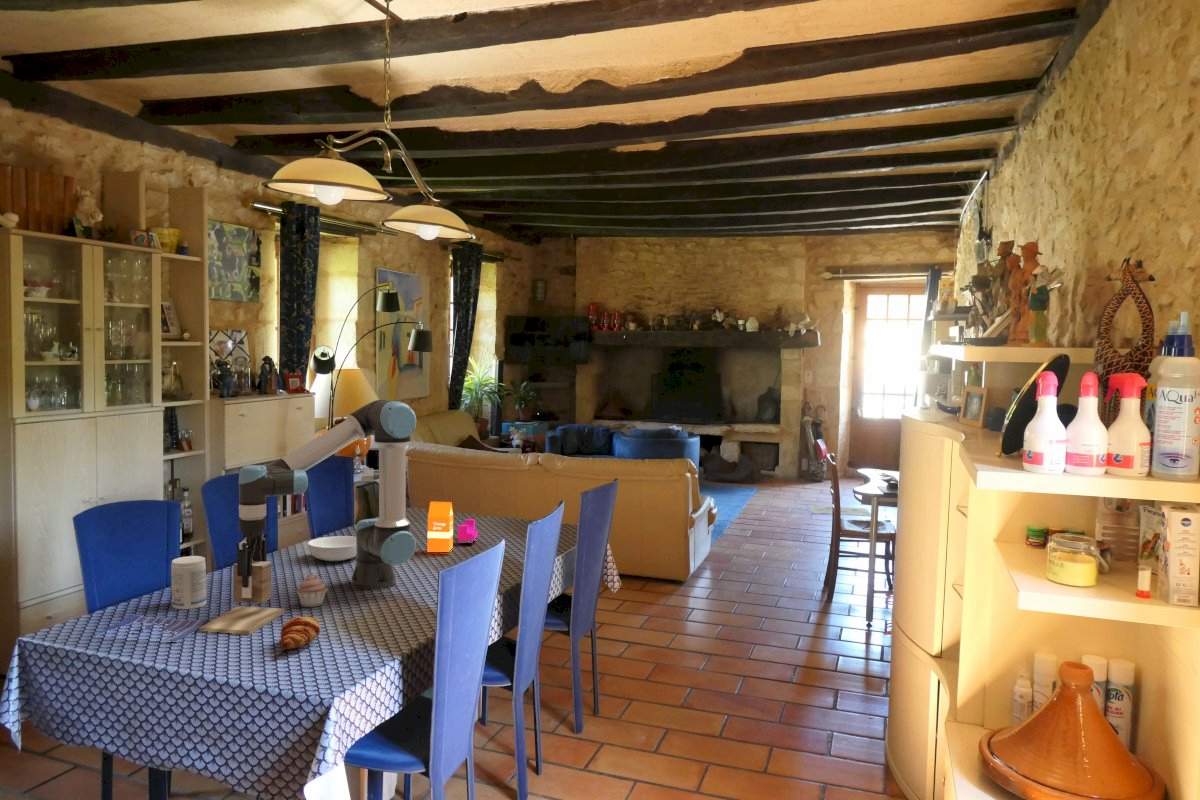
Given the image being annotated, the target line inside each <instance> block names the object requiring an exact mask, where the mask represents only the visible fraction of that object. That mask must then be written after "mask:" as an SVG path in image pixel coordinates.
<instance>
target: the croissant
mask: <svg viewBox="0 0 1200 800" xmlns="http://www.w3.org/2000/svg"><path fill="white" fill-rule="evenodd" d="M319 623H320V622H319V620H318V618H315V617H313V616H306V615H304V616H296V617H292V618H291V619H289V620H287V621H286V622H285V623H284V624H283V625H282V627H281V629H280V643H279V644H280V646H281V647H282V648H283V649H285V650H290V649H296V648H301V647H303V646H304V645H306V644H310V643H312V641H313V640H314V639H316V638H317V637H318V636H319V635H320V634H321V627H320V625H319Z"/></svg>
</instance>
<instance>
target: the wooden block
mask: <svg viewBox="0 0 1200 800" xmlns="http://www.w3.org/2000/svg"><path fill="white" fill-rule="evenodd" d="M232 569H233V571H232V573H233V577H232V579H233V584H232V585H233V589H232V590H233V591H232V593H233V594H232V599H233V601H232V602H235V603H236V602H239V603H250V604H251V603H253V604H263V603H266V602H267V601H269V600H271V598H272V597H271V596H272V595H271V593H272V586H271V585H272V561H267V562H264V561H253V560H252V566H251V574H250V576H252V598H242V576H238V575H237V562H236V563H234V564H233V568H232Z"/></svg>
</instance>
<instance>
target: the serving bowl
mask: <svg viewBox="0 0 1200 800" xmlns="http://www.w3.org/2000/svg"><path fill="white" fill-rule="evenodd" d="M307 547H308V551H309V553H310V554H311V556H312V557H314V558H315V559H318V560H322V561H326V562H341V561H346V560H348V559H352V558H354V557H357V541H356V536H352V535H336V536H324V537H317V538H314V539H311V540H309V541H308V542H307Z"/></svg>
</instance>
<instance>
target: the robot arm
mask: <svg viewBox="0 0 1200 800" xmlns="http://www.w3.org/2000/svg"><path fill="white" fill-rule="evenodd" d="M416 427H417V417H416V413H415V412H414V409H412V408H411V406H410V405H409V404H406V403H405V402H404V403H403V402H401V401H397V400H388V399H387V400H385V399H375V400H373V401H371V402H368V403H367V404H365V405H362V407H359V408H358V409H357V410H355V411H353V412H351V413H349V414H347V416H346V419H345V420H343V421H341V422H340V423H339V424H337V425H335V426H334V427H332V428H330V429H328V430H326V431H325V432H323V433H322V434H320V435H318V436H317V437H315V438H313V439H312V440H309V441H308V442H306V443H305V444H303V445H302V446H300V447H298V448H296V449H295V450H293V451H291V452H289V453H288V454H286V455H284V456H283V457H281V458H280V459H277V460H275V461H274V462H272V463H266V464H263V465H262V464H257V465H256V464H250V465H249V464H248V465H243V466H241V468H240V469H239V473H238V517H239V519H238V531H239V532H240V533H242V537H241V542H236V550H237V552H236V553H237V555H236V557H237V560H236V561H237V562H236V563H237V575H238V576H242V598H252V576H250V574H251V566H252V561H264V562H268V561H267V560H268V559H267V555H268V552H267V550H268V548H267V547H268V546H267V545H268V543H267V542H268V538H269V537H268V534H267V533H263V532H265V531H266V529H267V518H266V516H267V497H278V496H291V495H293V496H296V495H300V494H301V495H302V494H304V493H306V491H307V489H308V486H309V478H308V474H307V473H306V471H308V470H309V469H311V468H313V467H315V466H316V465H318V464H319V463H321V462H322V461H324V460H326V459H328V458H329V457H331V456H333V455H335V454H336V453H338V452H339V451H341V450H343V449H344V448H346V447H347V446H349V445H352V443H354V442H356V441H358V440H360V441H361V440H362V441H363V440H365V439H366V438H368V437H370V436H373V435H374V436H373V438H374V440H373V441H374V443H375V445H376V446H378V451H379V452H378V457H379V458H378V459H379V460H378V462H379V463H378V468H379V469H378V480H379V481H378V487H379V488H378V490H379V491H378V492H379V493H378V495H379V498H378V505H379V506H378V509H379V510H378V516H379V517H375V518H366V519H361V520H359V521H358V522H357V523H356V530H355V533H356V536H355V537H356V541H357V555H356V560H355V561H356V562H355V563H356V564H355V567H354V570H353V573H352V575H351V579H350V586H351V585H352V586H353V587H352V586H351V587H352V588H354V587H355V588H354V589H356V588H359V589H358V590H361V589H381V588H386V587H389V586H392V585H394V584H395V583H396V584H397V575H396V573H395V569H394V567H393V566H400V565H403V564H405V563H407V562H408V561H409V560H410V559H411V558H412V557H413V556H414V554H415V552H416V548H417V540H416V538H415V536H414V534H412V533H411V521H410V520H409V519H408V518H407V517H406V512H407V511H406V509H407V508H406V507H407V505H406V503H407V501H406V493H407V492H406V491H407V490H406V488H407V487H406V486H407V485H406V483H407V481H406V480H407V478H406V469H407V468H406V467H407V464H406V463H407V462H406V461H407V460H406V459H407V458H406V454H407V452H406V451H407V446H408V445H409V444H410V443H411V435H412V434H413V433H414V431H415V429H416ZM396 584H395V585H396ZM395 585H394V586H395ZM392 587H393V586H392ZM386 589H387V588H386ZM381 590H382V589H381Z"/></svg>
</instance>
